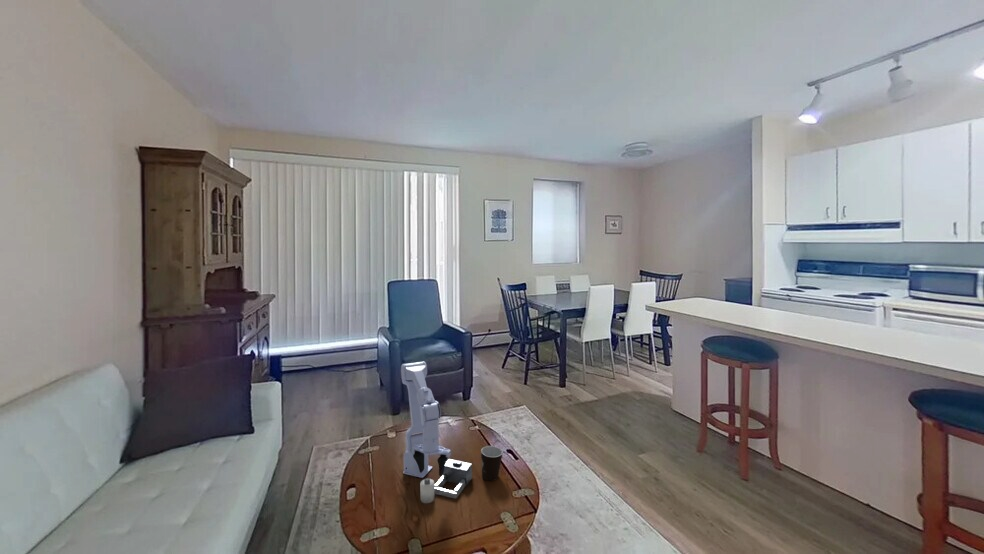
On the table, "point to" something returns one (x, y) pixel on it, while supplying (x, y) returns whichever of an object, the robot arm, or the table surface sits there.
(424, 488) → the white bottle
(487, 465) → the coffee mug
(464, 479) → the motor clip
